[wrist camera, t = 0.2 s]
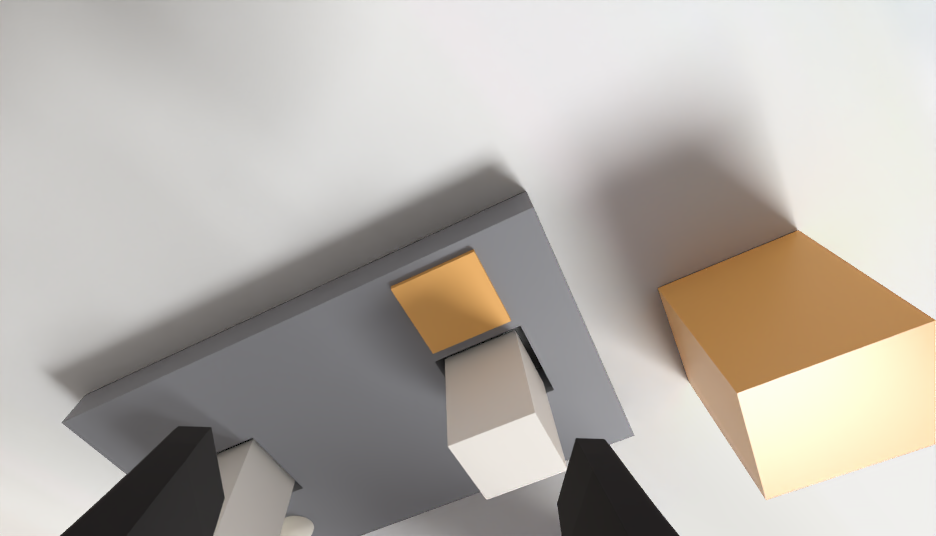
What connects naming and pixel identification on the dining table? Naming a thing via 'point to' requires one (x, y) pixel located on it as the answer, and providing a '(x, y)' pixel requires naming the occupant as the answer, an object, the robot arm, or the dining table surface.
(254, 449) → the untagged breaker
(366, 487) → the panel
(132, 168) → the dining table surface
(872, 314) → the orange cube
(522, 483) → the white rectangular block
